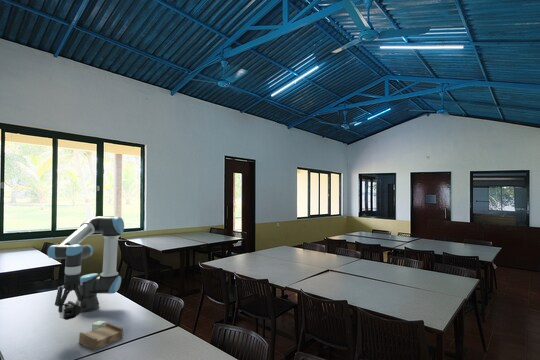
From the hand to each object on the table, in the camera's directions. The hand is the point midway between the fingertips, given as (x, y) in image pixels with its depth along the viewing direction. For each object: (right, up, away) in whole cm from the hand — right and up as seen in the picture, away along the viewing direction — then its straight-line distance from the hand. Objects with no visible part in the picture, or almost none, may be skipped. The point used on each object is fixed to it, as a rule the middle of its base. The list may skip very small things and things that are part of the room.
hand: (69, 315), depth 164 cm
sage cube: (+9, -15, +12) cm, 21 cm away
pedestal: (+17, -14, +1) cm, 22 cm away
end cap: (0, -1, 0) cm, 1 cm away
